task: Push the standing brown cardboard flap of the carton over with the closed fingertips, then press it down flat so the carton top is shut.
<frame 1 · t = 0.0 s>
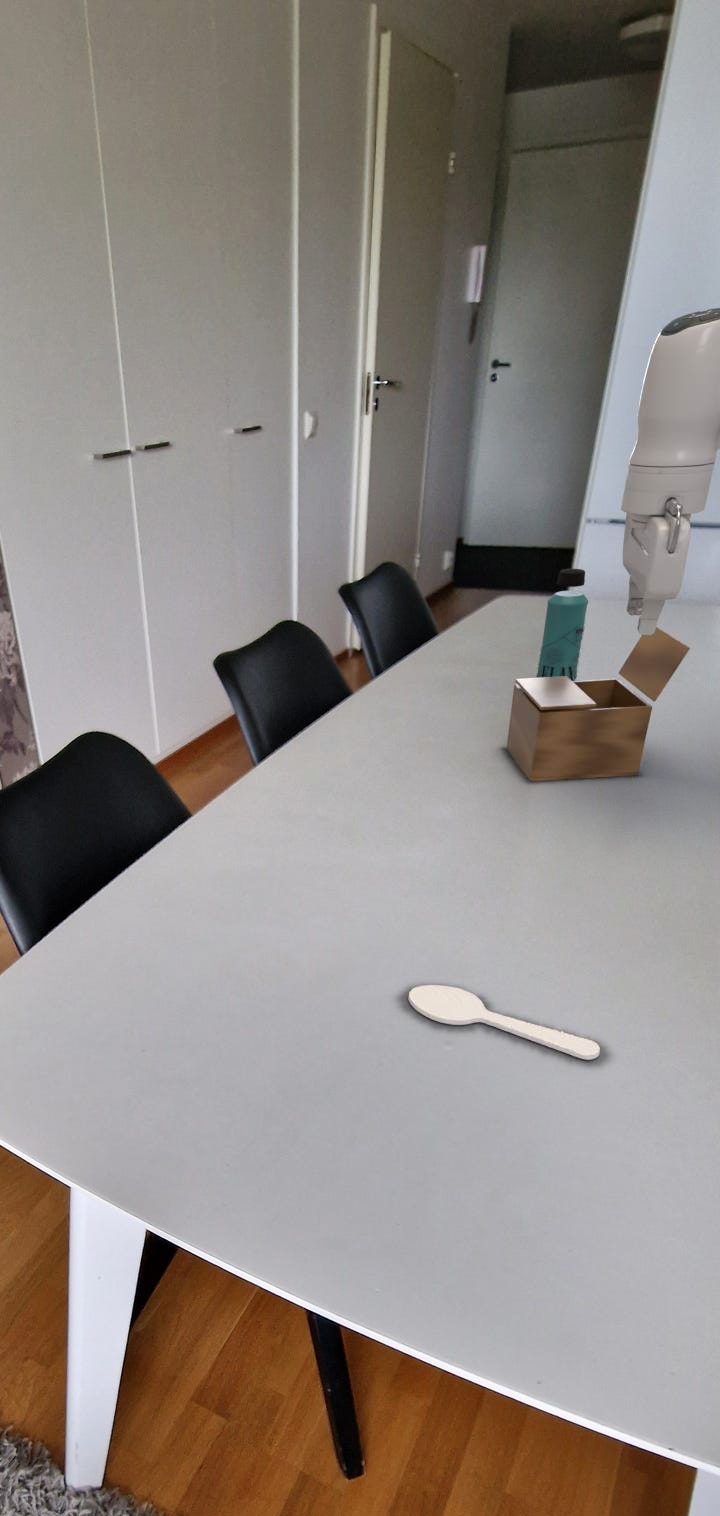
hand: (639, 623, 112), 21 cm above the table, tool pointing down, fingers open, 8 cm apart
flap: (652, 661, 125), point 13 cm above the table, hinge at 115.0°
carton: (569, 761, 134), on the table
spoon: (499, 1024, 84), on the table
beverage bottle: (552, 699, 156), on the table
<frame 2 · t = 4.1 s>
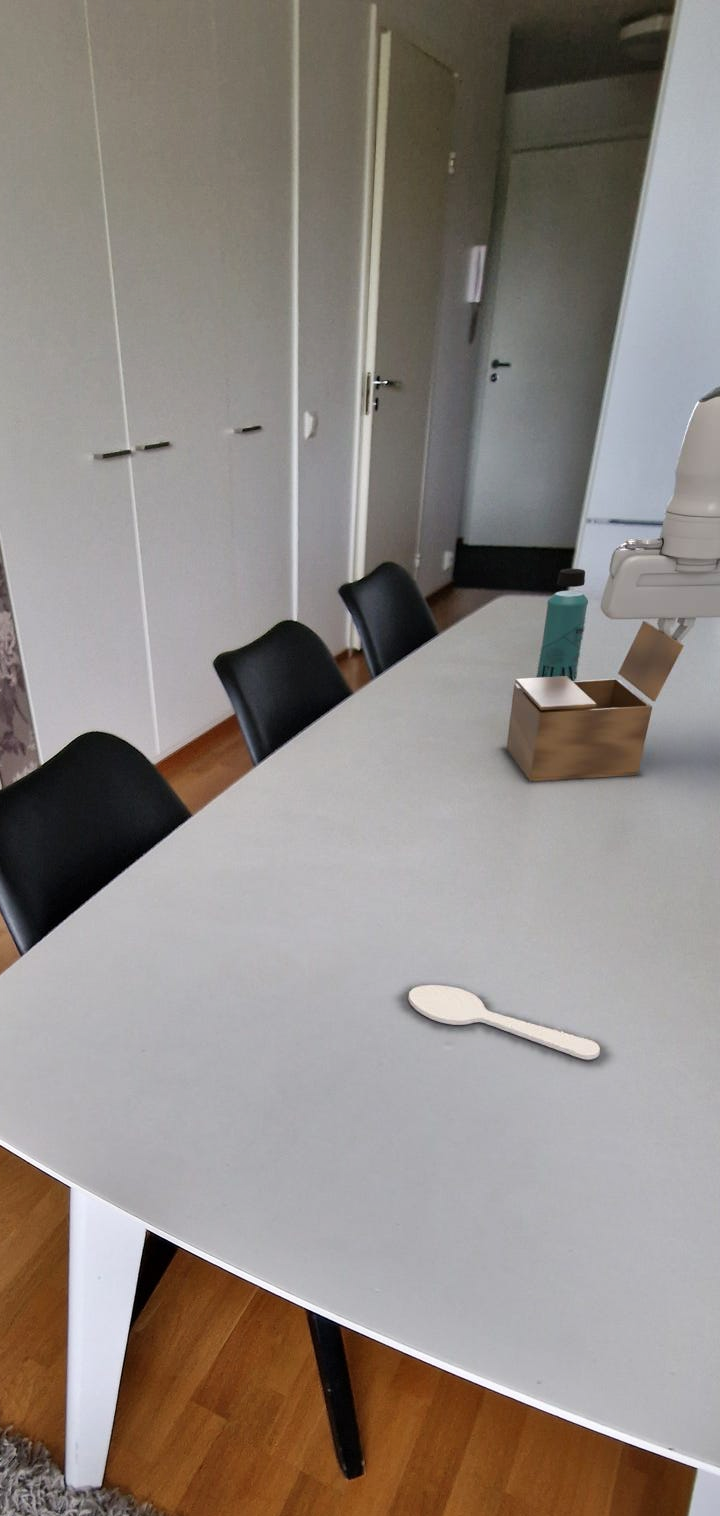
hand: (667, 652, 125), 15 cm above the table, tool pointing down, fingers closed
flap: (649, 660, 125), point 14 cm above the table, hinge at 107.2°, touching gripper
everything else where it was.
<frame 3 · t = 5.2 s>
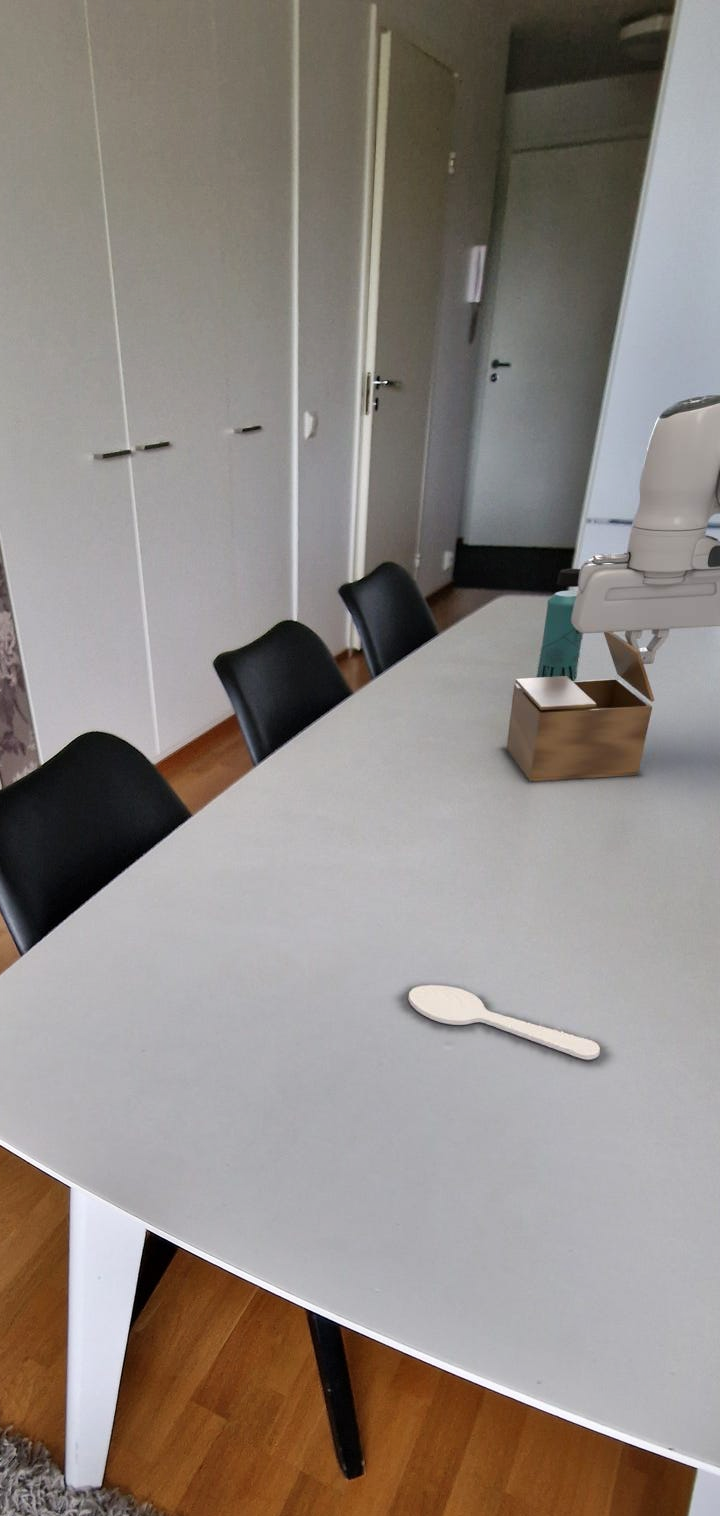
hand: (640, 663, 126), 13 cm above the table, tool pointing down, fingers closed
flap: (627, 663, 126), point 13 cm above the table, hinge at 62.3°, touching gripper
everything else where it was.
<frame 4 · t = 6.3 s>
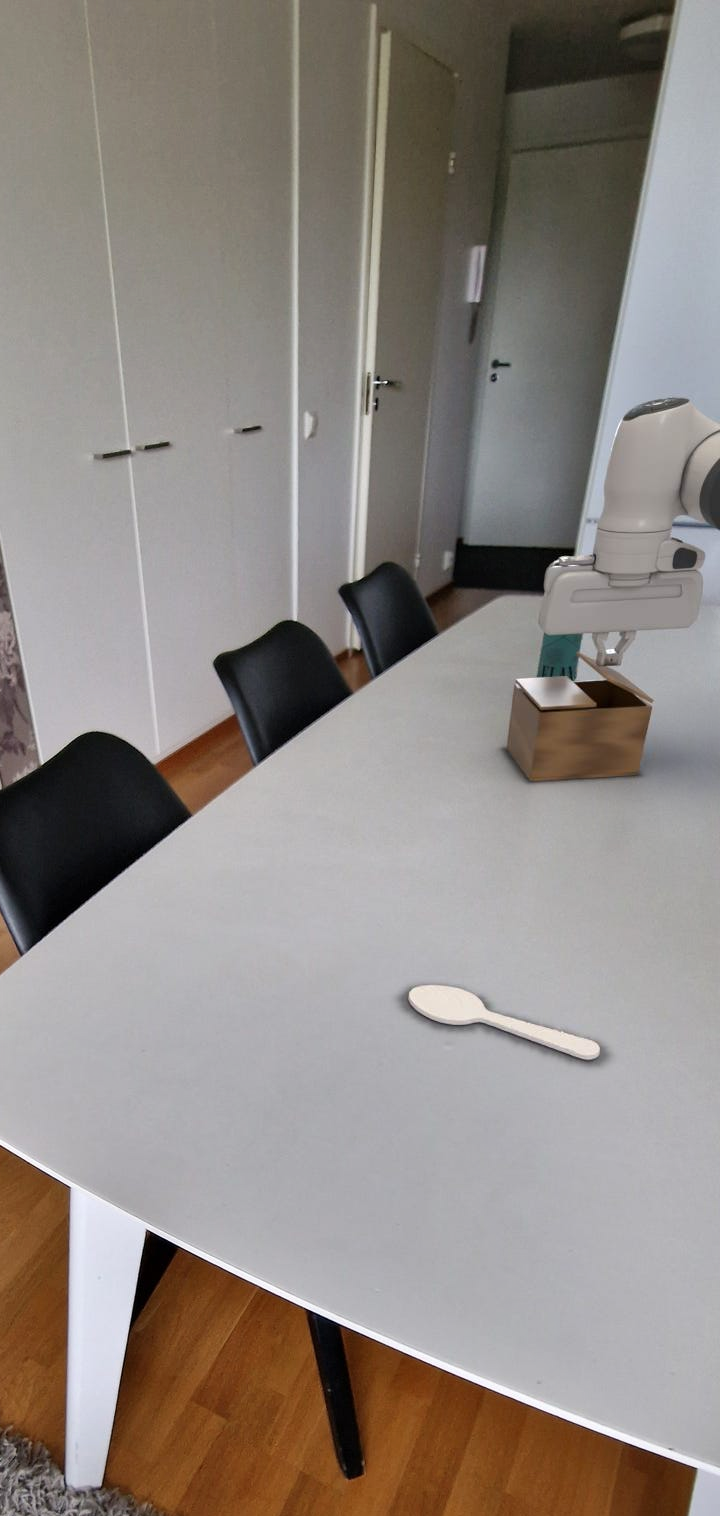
hand: (608, 665, 126), 13 cm above the table, tool pointing down, fingers closed
flap: (613, 676, 127), point 12 cm above the table, hinge at 26.7°, touching gripper
everything else where it was.
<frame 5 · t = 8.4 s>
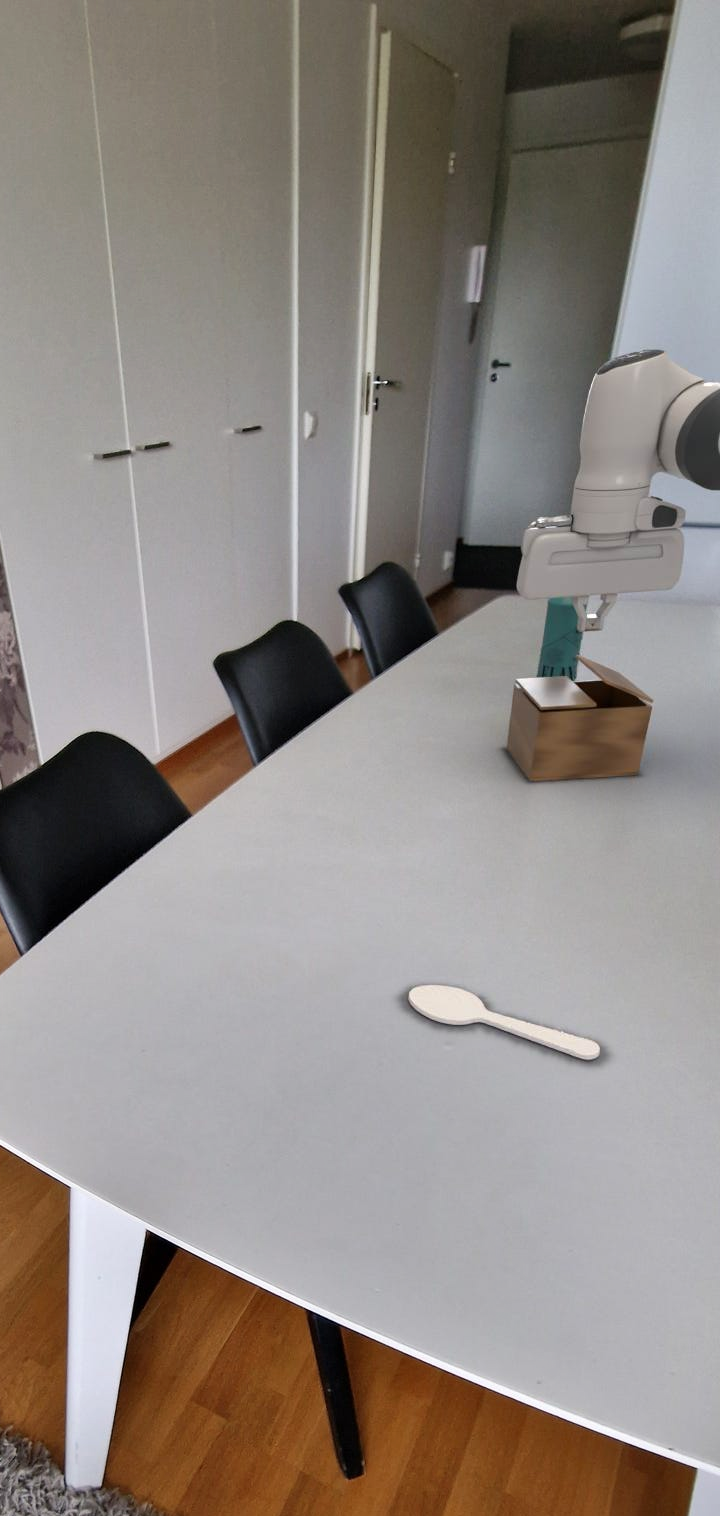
hand: (589, 630, 123), 18 cm above the table, tool pointing down, fingers closed
flap: (612, 677, 127), point 12 cm above the table, hinge at 23.8°
everything else where it was.
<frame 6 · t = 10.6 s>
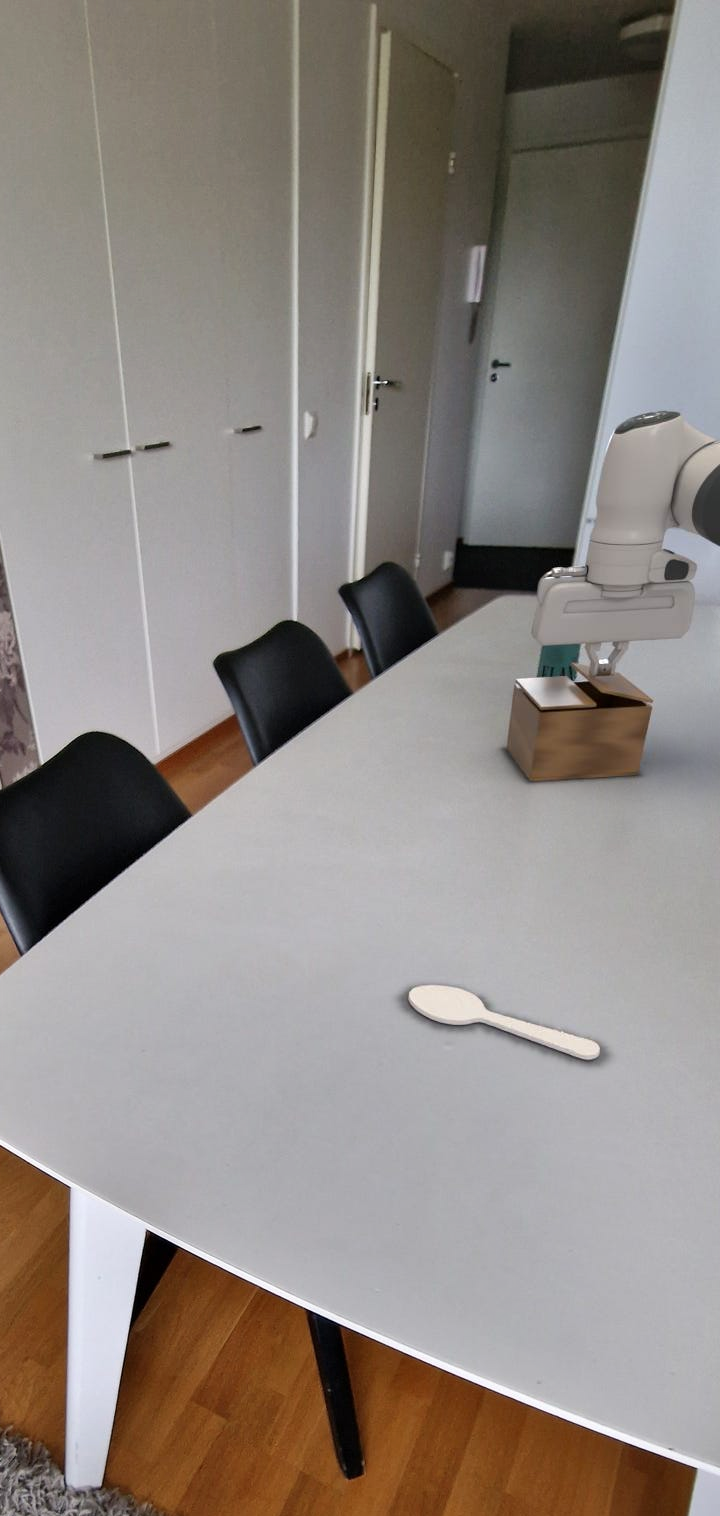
hand: (601, 675, 126), 12 cm above the table, tool pointing down, fingers closed
flap: (610, 682, 127), point 11 cm above the table, hinge at 14.4°
everything else where it was.
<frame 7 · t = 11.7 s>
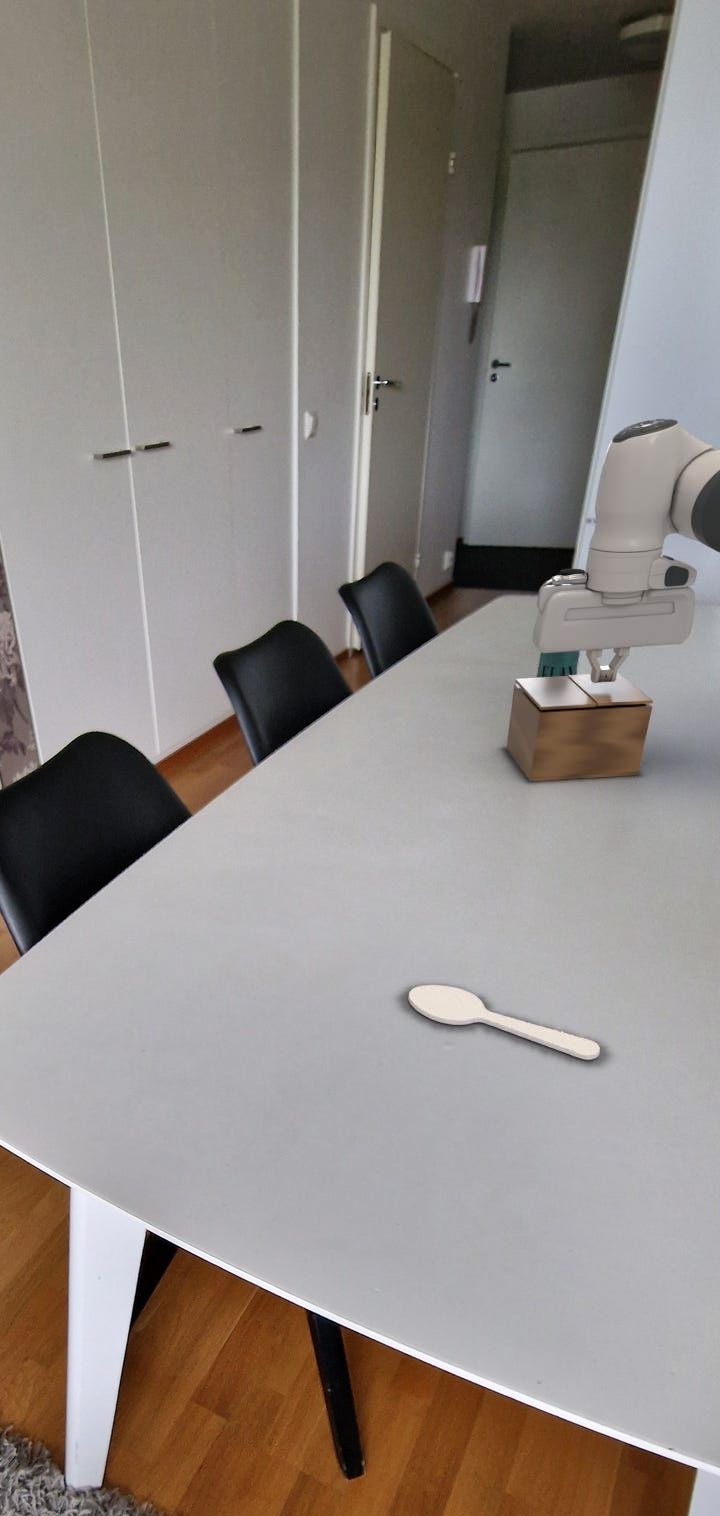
hand: (602, 681, 127), 11 cm above the table, tool pointing down, fingers closed
flap: (608, 688, 127), point 10 cm above the table, hinge at 0.8°
everything else where it was.
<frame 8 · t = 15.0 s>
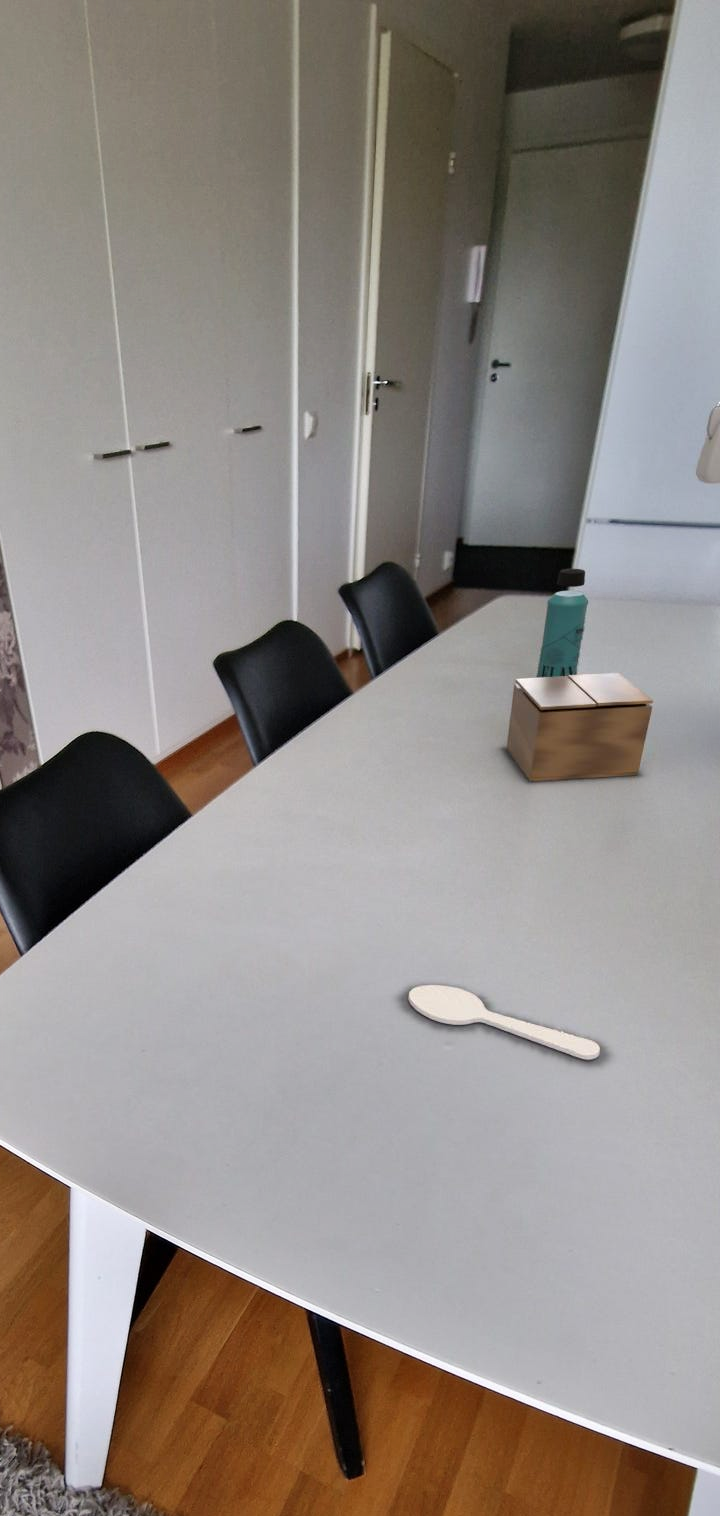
nothing on the table moved.
at the end: flap at +1° (first picture: +115°) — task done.
